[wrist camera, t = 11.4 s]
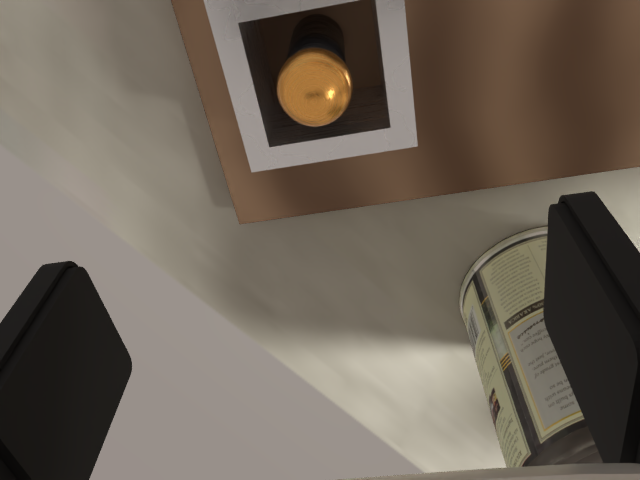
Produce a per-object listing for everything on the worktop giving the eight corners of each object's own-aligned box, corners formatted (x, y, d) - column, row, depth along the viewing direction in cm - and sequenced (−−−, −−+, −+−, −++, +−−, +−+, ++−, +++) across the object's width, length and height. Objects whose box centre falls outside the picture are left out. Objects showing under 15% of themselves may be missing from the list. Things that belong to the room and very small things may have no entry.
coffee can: (648, 308, 37) (796, 522, 25) (499, 370, 40) (568, 583, 29) (592, 192, 32) (742, 390, 20) (428, 274, 35) (477, 483, 24)
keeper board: (774, -316, 20) (803, -326, 19) (684, 145, 30) (699, 157, 29) (130, -170, 23) (119, -170, 22) (242, 209, 33) (239, 224, 32)
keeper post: (343, 3, 25) (347, 55, 19) (352, 66, 27) (359, 132, 21) (280, 15, 25) (265, 69, 19) (293, 76, 27) (282, 144, 21)
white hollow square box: (388, -60, 24) (400, -40, 20) (404, 101, 28) (417, 146, 23) (224, -27, 24) (203, -1, 20) (262, 124, 28) (251, 172, 24)
